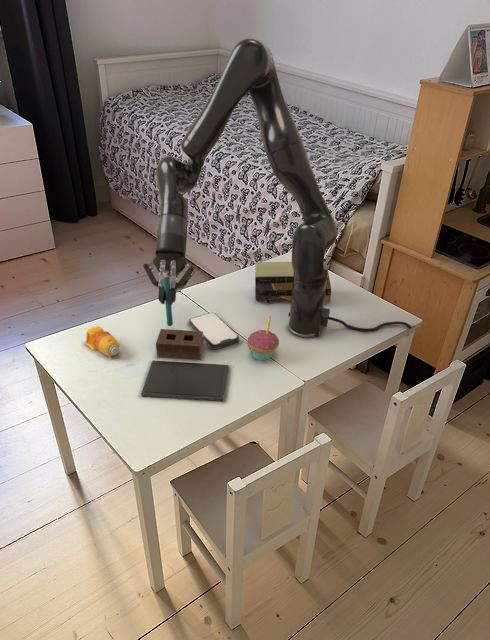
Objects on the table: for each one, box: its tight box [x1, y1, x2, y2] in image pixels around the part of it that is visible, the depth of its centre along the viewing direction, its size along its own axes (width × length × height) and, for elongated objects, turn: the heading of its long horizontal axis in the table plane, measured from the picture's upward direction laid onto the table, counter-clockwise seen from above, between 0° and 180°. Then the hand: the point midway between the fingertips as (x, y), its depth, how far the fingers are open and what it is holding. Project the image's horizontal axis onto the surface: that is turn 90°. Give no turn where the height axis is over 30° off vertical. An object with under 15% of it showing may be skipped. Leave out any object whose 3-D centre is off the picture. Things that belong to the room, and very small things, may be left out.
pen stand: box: [155, 328, 204, 361], centre depth 146 cm, size 12×7×4 cm, turn 87°
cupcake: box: [246, 315, 280, 361], centre depth 143 cm, size 9×8×12 cm
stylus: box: [163, 270, 174, 327], centre depth 137 cm, size 2×2×16 cm
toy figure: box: [85, 325, 120, 357], centre depth 145 cm, size 5×6×12 cm
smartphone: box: [188, 312, 240, 350], centre depth 154 cm, size 9×2×16 cm
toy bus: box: [254, 261, 332, 304], centre depth 168 cm, size 10×23×10 cm, turn 89°
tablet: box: [140, 360, 229, 402], centre depth 137 cm, size 20×14×1 cm
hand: (166, 303), depth 135 cm, fingers closed on stylus
